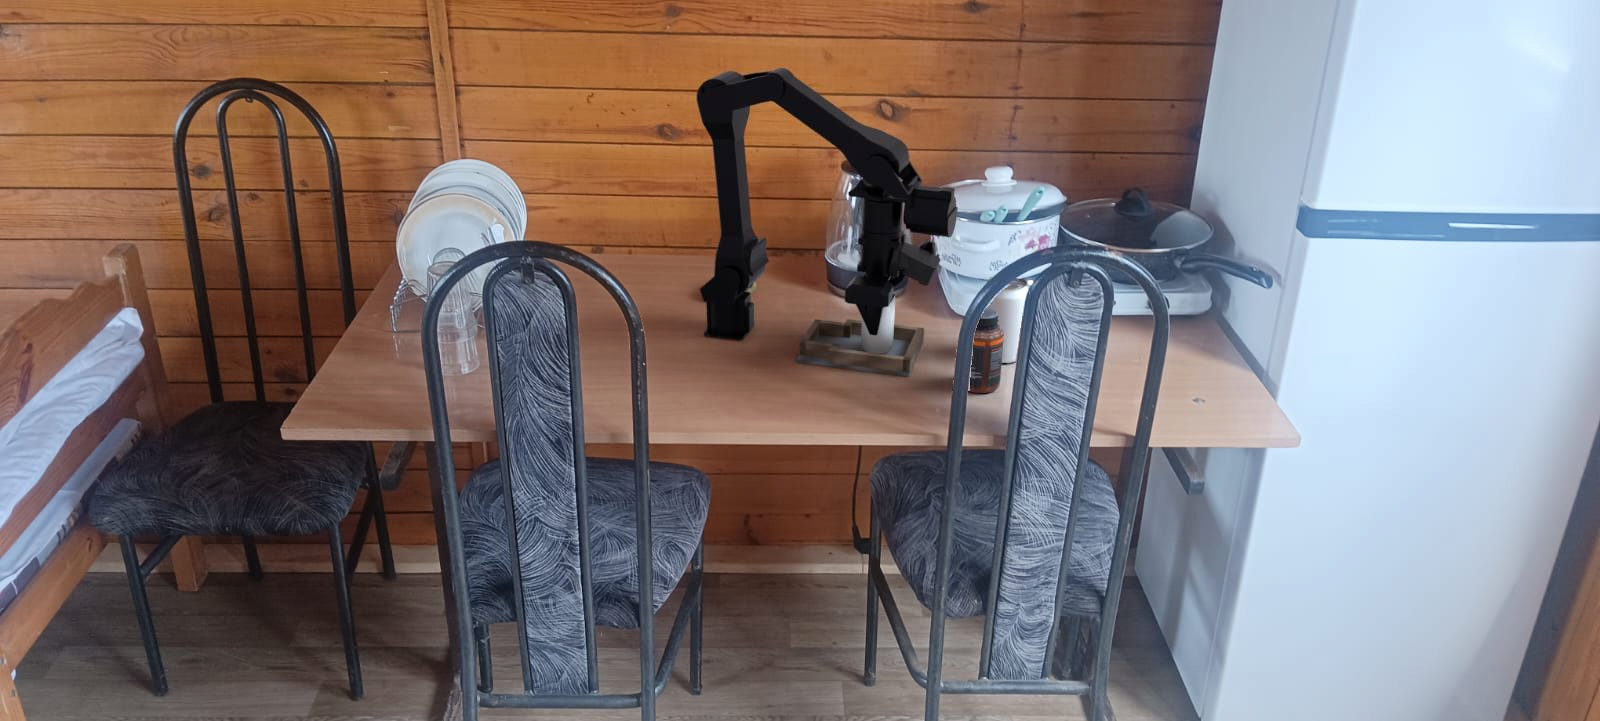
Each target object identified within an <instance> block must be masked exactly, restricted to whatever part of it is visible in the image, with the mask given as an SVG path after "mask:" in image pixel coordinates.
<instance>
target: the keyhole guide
mask: <svg viewBox="0 0 1600 721" xmlns="http://www.w3.org/2000/svg"><path fill="white" fill-rule="evenodd" d="M861 327H862V320H858V319H850V318H848V319H846V321H845V322H841V321H840V322H839V321H835V320H834V321H832V320H826V319H825V320H822V319H816V318H815V319H814V321H813V322H812V323H811V325H809V328H808V329H807V330H806V332H805V334H804V336H803V337H802V338H801V339H800V341H799V354H798V356H797V358H796V363H798V364H800V363H801V364H807V365H814V366H821V367H822V366H823V367H830V368H839V369H847V370H855V371H861V372H870V373H877V374H878V373H879V374H886V375H894V376H901V377H910V376H911V373H912V370H913V369H914V366H915V364H916V361H917V359H918V356H919V355H920V351H921V349H922V347H923V345H924V336H925V335H924V334H925V328H924V327H920V326H912V325H911V326H908V325H903V324H902V325H901V324H894V335H893V349H892V350H891V351H889V352H886V353H870V352H867V351H864V350H863V349H862V348H861Z"/></svg>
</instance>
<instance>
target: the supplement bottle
mask: <svg viewBox="0 0 1600 721" xmlns="http://www.w3.org/2000/svg"><path fill="white" fill-rule="evenodd" d="M997 322H998V312H997V311H996V310H994V309H991V308H986V309H985V310H984V313H983V314H982V316H981V318H980V320H979V323H978V325H977V328H976V331H975V335H974V343H973V356H972V365H971V377H970V391H969V392H971V393H974V394H975V393H977V394H988V393H991V392H994V391H995V390H997V389H998V388H999V387H1000V383H1001V378H1002V377H1001V375H1002V365H1003V364H1002V352H1003V338H1004V332H1003V329H1002V327H1001V326H1000V325H998V324H997Z"/></svg>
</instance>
